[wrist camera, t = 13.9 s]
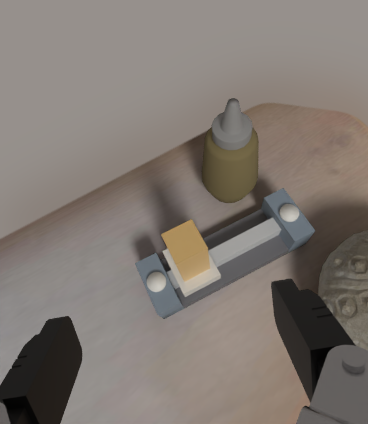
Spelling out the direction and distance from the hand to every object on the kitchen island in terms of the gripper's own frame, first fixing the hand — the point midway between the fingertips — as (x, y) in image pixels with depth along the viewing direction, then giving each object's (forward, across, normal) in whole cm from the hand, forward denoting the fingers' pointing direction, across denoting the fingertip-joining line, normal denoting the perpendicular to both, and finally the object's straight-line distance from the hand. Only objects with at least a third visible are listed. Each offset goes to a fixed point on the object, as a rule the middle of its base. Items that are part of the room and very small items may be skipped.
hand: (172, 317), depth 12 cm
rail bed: (+29, -4, +14) cm, 33 cm away
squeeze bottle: (+37, -8, +6) cm, 39 cm away
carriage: (+27, 0, +14) cm, 30 cm away
